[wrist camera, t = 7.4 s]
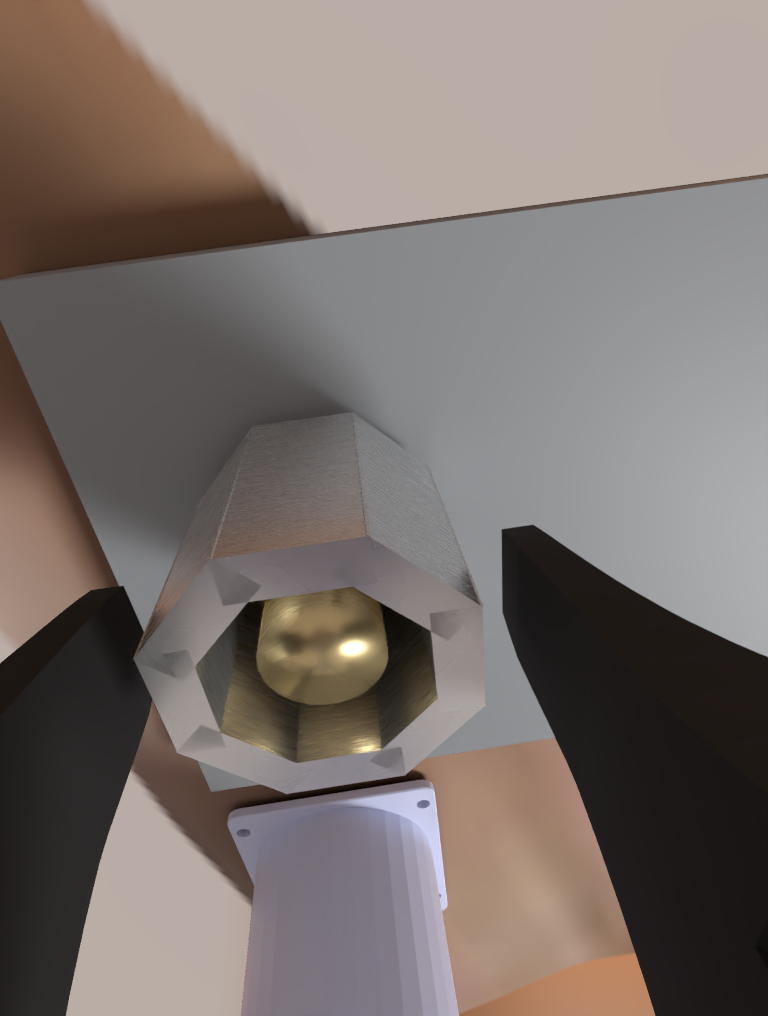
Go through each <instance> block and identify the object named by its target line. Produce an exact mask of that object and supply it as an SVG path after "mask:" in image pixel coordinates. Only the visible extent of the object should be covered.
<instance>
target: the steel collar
mask: <svg viewBox="0 0 768 1016" xmlns="http://www.w3.org/2000/svg"><path fill="white" fill-rule="evenodd" d="M347 587H354V588H356V589H358V590H359V591H361V592H363V593H365V594H366V595H368V596H370V597H372V598H373V599H375V600H377V601H379V602H380V603H382V610H383V618H384V625H385V632H386V639H387V646H388V662H387V665H386V668H385V670H384V672H383V674H382V676H381V677H380V679H379V680H378V681H377V682H376V683H375V684H374V685H373V686H372V687H371V688H370V689H369V690H367V691H366V692H364V693H363V694H361V695H359V696H357V697H355V698H352V699H350V700H347V701H344V702H340V703H335V704H327V705H313V704H305V703H300V702H296V701H293V700H290V699H288V698H285V697H283V696H281V695H280V694H278V693H277V692H275V691H274V690H273V689H271V688H270V687H269V686H268V685H267V684H266V683H265V681H264V680H263V678H262V677H261V675H260V673H259V671H258V667H257V663H256V654H257V647H258V640H259V634H260V627H261V620H262V614H263V607H264V601H265V600H266V599H273V598H280V597H287V596H293V595H300V594H307V593H313V592H320V591H327V590H334V589H340V588H347ZM133 660H134V661H135V663H136V665H137V667H138V669H139V671H140V673H141V676H142V678H143V680H144V682H145V684H146V686H147V688H148V691H149V693H150V695H151V697H152V699H153V701H154V703H155V706H156V708H157V710H158V712H159V714H160V716H161V718H162V721H163V723H164V725H165V727H166V729H167V731H168V733H169V736H170V738H171V740H172V742H173V744H174V746H175V748H176V751H177V752H176V753H178V754H181V755H184V756H187V757H189V758H192V759H195V760H197V761H200V762H203V763H205V764H208V765H211V766H213V767H216V768H219V769H222V770H224V771H227V772H230V773H232V774H235V775H238V776H240V777H243V778H246V779H248V780H251V781H254V782H256V783H259V784H262V785H264V786H267V787H270V788H272V789H275V790H278V791H280V792H283V793H285V794H290V793H296V792H303V791H309V790H315V789H322V788H328V787H334V786H341V785H347V784H353V783H360V782H366V781H372V780H379V779H385V778H391V777H398V776H405V775H406V774H407V773H408V772H409V771H410V770H412V769H413V768H414V767H415V766H416V765H417V764H419V763H420V762H421V761H422V760H423V759H424V758H425V757H427V756H428V755H429V754H430V753H431V752H432V751H433V750H435V749H436V748H437V747H438V746H439V745H440V744H442V743H443V742H444V741H445V740H446V739H447V738H448V737H450V736H451V735H452V734H453V733H454V732H455V731H457V730H458V729H459V728H460V727H461V726H462V725H463V724H465V723H466V722H467V721H468V720H469V719H470V718H472V717H473V716H474V715H475V714H476V713H477V712H478V711H480V710H481V709H482V708H483V707H484V706H486V701H485V672H484V639H483V604H482V602H481V599H480V597H479V594H478V592H477V589H476V586H475V584H474V581H473V579H472V576H471V574H470V571H469V568H468V566H467V563H466V561H465V558H464V556H463V553H462V550H461V548H460V545H459V543H458V540H457V537H456V535H455V532H454V530H453V527H452V525H451V522H450V519H449V517H448V514H447V512H446V509H445V507H444V504H443V501H442V499H441V496H440V494H439V491H438V489H437V486H436V483H435V481H434V478H433V476H432V473H431V471H430V468H429V466H428V465H426V464H425V463H424V462H422V461H421V460H419V459H418V458H417V457H415V456H414V455H412V454H411V453H410V452H408V451H407V450H405V449H404V448H403V447H401V446H400V445H398V444H397V443H396V442H394V441H393V440H391V439H390V438H389V437H387V436H386V435H384V434H383V433H382V432H380V431H379V430H377V429H376V428H375V427H373V426H372V425H370V424H369V423H368V422H366V421H365V420H363V419H362V418H361V417H359V416H358V415H356V414H355V413H354V412H352V411H351V412H348V413H341V414H334V415H326V416H319V417H312V418H305V419H298V420H291V421H284V422H277V423H270V424H262V425H255V426H254V425H253V426H251V428H250V430H249V431H248V433H247V434H246V435H245V437H244V438H243V440H242V441H241V443H240V444H239V445H238V447H237V448H236V450H235V451H234V452H233V454H232V455H231V457H230V458H229V459H228V461H227V462H226V464H225V465H224V466H223V468H222V469H221V471H220V472H219V474H218V475H217V476H216V478H215V479H214V481H213V482H212V483H211V485H210V486H209V488H208V489H207V490H206V492H205V493H204V495H203V496H202V497H201V498H200V500H199V502H198V505H197V507H196V510H195V512H194V514H193V517H192V519H191V522H190V524H189V526H188V529H187V531H186V533H185V536H184V538H183V541H182V543H181V545H180V548H179V550H178V553H177V555H176V557H175V560H174V562H173V564H172V567H171V569H170V572H169V574H168V576H167V579H166V581H165V584H164V586H163V588H162V591H161V593H160V595H159V598H158V600H157V603H156V605H155V607H154V610H153V612H152V615H151V617H150V619H149V622H148V624H147V627H146V629H145V631H144V634H143V636H142V638H141V641H140V643H139V646H138V648H137V650H136V653H135V655H134V659H133Z"/></svg>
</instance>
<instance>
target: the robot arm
mask: <svg viewBox="0 0 768 1016" xmlns="http://www.w3.org/2000/svg"><path fill="white" fill-rule="evenodd" d="M502 612H503V615H504V619H505V622H506V625H507V628H508V631H509V634H510V637H511V640H512V643H513V646H514V649H515V652H516V655H517V658H518V660H519V662H520V664H521V667H522V669H523V671H524V673H525V675H526V677H527V679H528V681H529V684H530V686H531V688H532V690H533V692H534V694H535V696H536V698H537V700H538V703H539V705H540V707H541V709H542V711H543V713H544V715H545V717H546V719H547V721H548V723H549V726H550V728H551V730H552V732H553V734H554V736H555V738H556V740H557V742H558V744H559V746H560V749H561V751H562V753H563V755H564V757H565V759H566V761H567V763H568V766H569V768H570V770H571V773H572V775H573V777H574V780H575V782H576V784H577V787H578V789H579V792H580V795H581V798H582V800H583V803H584V806H585V809H586V811H587V814H588V817H589V820H590V822H591V825H592V828H593V830H594V833H595V836H596V839H597V841H598V844H599V847H600V850H601V853H602V856H603V859H604V862H605V864H606V867H607V870H608V873H609V876H610V879H611V882H612V884H613V887H614V890H615V893H616V896H617V899H618V902H619V905H620V908H621V911H622V914H623V917H624V920H625V923H626V926H627V929H628V932H629V935H630V938H631V941H632V944H633V947H634V950H635V953H636V956H637V959H638V962H639V965H640V968H641V971H642V974H643V977H644V980H645V983H646V987H647V990H648V993H649V996H650V999H651V1002H652V1006H653V1009H654V1012H655V1015H656V1016H768V657H767V656H764V655H762V654H759V653H757V652H754V651H752V650H750V649H748V648H745V647H743V646H741V645H738V644H736V643H734V642H732V641H729V640H727V639H725V638H723V637H721V636H719V635H717V634H715V633H713V632H711V631H708V630H706V629H704V628H702V627H700V626H698V625H696V624H694V623H692V622H690V621H688V620H686V619H684V618H682V617H680V616H678V615H676V614H674V613H672V612H670V611H669V610H667V609H665V608H663V607H661V606H660V605H658V604H656V603H654V602H653V601H651V600H649V599H647V598H646V597H644V596H642V595H640V594H639V593H637V592H635V591H633V590H632V589H630V588H628V587H627V586H625V585H624V584H622V583H620V582H619V581H617V580H615V579H614V578H612V577H611V576H609V575H607V574H606V573H604V572H603V571H601V570H600V569H598V568H597V567H595V566H594V565H592V564H591V563H589V562H588V561H586V560H585V559H583V558H582V557H580V556H579V555H577V554H576V553H574V552H573V551H571V550H570V549H568V548H567V547H566V546H564V545H563V544H561V543H560V542H558V541H557V540H555V539H554V538H553V537H551V536H550V535H548V534H547V533H545V532H544V531H542V530H541V529H539V528H538V527H536V526H535V525H527V526H520V527H514V528H507V529H502ZM143 634H144V631H143V629H142V626H141V624H140V622H139V620H138V617H137V615H136V613H135V611H134V608H133V606H132V604H131V601H130V599H129V597H128V595H127V592H126V590H125V588H124V586H117V587H111V588H104V589H97V590H91V591H90V592H88V593H87V594H85V595H84V596H82V597H81V598H80V599H78V600H77V601H76V602H74V603H73V604H72V605H70V606H69V607H68V608H67V609H65V610H64V611H63V612H62V613H60V614H59V615H58V616H57V617H56V618H54V619H53V620H52V621H51V622H49V623H48V624H47V625H46V626H45V627H43V628H42V629H41V630H40V631H39V632H37V633H36V634H35V635H34V636H33V637H31V638H30V639H29V640H28V641H27V642H25V643H24V644H23V645H22V646H21V647H19V648H18V649H17V650H16V651H15V652H13V653H12V654H11V655H10V656H8V657H7V658H6V659H5V660H4V661H3V662H1V663H0V1016H66V1011H67V1006H68V1000H69V995H70V990H71V986H72V980H73V976H74V971H75V967H76V962H77V957H78V953H79V948H80V943H81V939H82V934H83V928H84V925H85V920H86V916H87V912H88V908H89V904H90V899H91V895H92V891H93V887H94V883H95V879H96V875H97V870H98V866H99V862H100V859H101V856H102V852H103V849H104V846H105V843H106V839H107V836H108V833H109V830H110V827H111V824H112V821H113V818H114V816H115V812H116V810H117V807H118V804H119V801H120V798H121V795H122V792H123V790H124V787H125V784H126V781H127V778H128V775H129V772H130V769H131V767H132V764H133V761H134V758H135V755H136V752H137V749H138V746H139V743H140V740H141V737H142V734H143V731H144V728H145V725H146V722H147V719H148V716H149V712H150V707H151V702H152V697H151V695H150V693H149V691H148V688H147V686H146V684H145V682H144V680H143V678H142V676H141V673H140V671H139V669H138V667H137V665H136V663H135V661H134V660H133V659H134V655H135V653H136V650H137V648H138V646H139V643H140V641H141V638H142V636H143ZM227 826H228V828H229V831H230V833H231V835H232V837H233V840H234V842H235V844H236V846H237V849H238V851H239V853H240V855H241V858H242V860H243V862H244V864H245V867H246V869H247V871H248V873H249V876H250V878H251V880H252V882H253V885H254V893H253V903H252V913H251V922H250V932H249V942H248V951H247V961H246V971H245V980H244V991H243V1000H242V1009H241V1016H459V1013H458V1007H457V1001H456V995H455V988H454V982H453V976H452V970H451V964H450V958H449V952H448V946H447V940H446V933H445V927H444V921H443V915H442V911H443V910H445V909H446V907H447V896H446V887H445V878H444V870H443V861H442V852H441V843H440V835H439V826H438V817H437V808H436V800H435V792H434V786H433V784H432V783H431V782H430V781H428V780H415V781H408V782H402V783H396V784H390V785H383V786H377V787H371V788H364V789H358V790H352V791H346V792H339V793H333V794H327V795H321V796H314V797H308V798H302V799H295V800H289V801H283V802H277V803H270V804H264V805H258V806H252V807H245V808H239V809H236V810H234V811H232V812H231V813H230V814H229V816H228V822H227Z"/></svg>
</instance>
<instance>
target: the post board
mask: <svg viewBox="0 0 768 1016" xmlns="http://www.w3.org/2000/svg"><path fill="white" fill-rule="evenodd" d="M0 321H1V323H2V325H3V327H4V330H5V332H6V334H7V336H8V339H9V341H10V343H11V345H12V348H13V350H14V352H15V354H16V357H17V359H18V361H19V363H20V365H21V368H22V370H23V372H24V374H25V377H26V379H27V381H28V383H29V386H30V388H31V390H32V392H33V395H34V397H35V399H36V401H37V404H38V406H39V408H40V410H41V412H42V415H43V417H44V419H45V421H46V424H47V426H48V428H49V430H50V433H51V435H52V437H53V439H54V442H55V444H56V446H57V448H58V450H59V453H60V455H61V457H62V459H63V462H64V464H65V466H66V468H67V471H68V473H69V475H70V477H71V480H72V482H73V484H74V486H75V488H76V491H77V493H78V495H79V497H80V500H81V502H82V504H83V506H84V509H85V511H86V513H87V515H88V518H89V520H90V522H91V524H92V526H93V529H94V531H95V533H96V535H97V538H98V540H99V542H100V544H101V547H102V549H103V551H104V553H105V556H106V558H107V560H108V562H109V564H110V567H111V569H112V571H113V573H114V576H115V578H116V580H117V582H118V585H119V586H124V588H125V590H126V592H127V595H128V597H129V599H130V601H131V604H132V606H133V608H134V611H135V613H136V615H137V617H138V620H139V622H140V624H141V626H142V629H143V631H145V629H146V627H147V624H148V622H149V619H150V617H151V615H152V612H153V610H154V607H155V605H156V603H157V600H158V598H159V595H160V593H161V591H162V588H163V586H164V584H165V581H166V579H167V576H168V574H169V572H170V569H171V567H172V564H173V562H174V560H175V557H176V555H177V553H178V550H179V548H180V545H181V543H182V541H183V538H184V536H185V533H186V531H187V529H188V526H189V524H190V522H191V519H192V517H193V514H194V512H195V510H196V507H197V505H198V502H199V500H200V498H201V497H202V496H203V495H204V493H205V492H206V490H207V489H208V488H209V486H210V485H211V483H212V482H213V481H214V479H215V478H216V476H217V475H218V474H219V472H220V471H221V469H222V468H223V466H224V465H225V464H226V462H227V461H228V459H229V458H230V457H231V455H232V454H233V452H234V451H235V450H236V448H237V447H238V445H239V444H240V443H241V441H242V440H243V438H244V437H245V435H246V434H247V433H248V431H249V430H250V428H251V426H253V425H254V426H255V425H262V424H270V423H277V422H284V421H291V420H298V419H305V418H312V417H319V416H326V415H334V414H341V413H348V412H351V411H352V412H354V413H355V414H356V415H358V416H359V417H361V418H362V419H363V420H365V421H366V422H368V423H369V424H370V425H372V426H373V427H375V428H376V429H377V430H379V431H380V432H382V433H383V434H384V435H386V436H387V437H389V438H390V439H391V440H393V441H394V442H396V443H397V444H398V445H400V446H401V447H403V448H404V449H405V450H407V451H408V452H410V453H411V454H412V455H414V456H415V457H417V458H418V459H419V460H421V461H422V462H424V463H425V464H426V465H428V466H429V468H430V471H431V473H432V476H433V478H434V481H435V483H436V486H437V489H438V491H439V494H440V496H441V499H442V501H443V504H444V507H445V509H446V512H447V514H448V517H449V519H450V522H451V525H452V527H453V530H454V532H455V535H456V537H457V540H458V543H459V545H460V548H461V550H462V553H463V556H464V558H465V561H466V563H467V566H468V568H469V571H470V574H471V576H472V579H473V581H474V584H475V586H476V589H477V592H478V594H479V597H480V599H481V602H482V604H483V639H484V672H485V701H486V706H484V707H483V708H482V709H481V710H480V711H478V712H477V713H476V714H475V715H474V716H473V717H472V718H470V719H469V720H468V721H467V722H466V723H465V724H463V725H462V726H461V727H460V728H459V729H458V730H457V731H455V732H454V733H453V734H452V735H451V736H450V737H448V738H447V739H446V740H445V741H444V742H443V743H442V744H440V745H439V746H438V747H437V748H436V749H435V750H433V751H432V752H431V753H430V754H429V755H428V756H427V757H425V758H430V757H436V756H442V755H449V754H455V753H461V752H468V751H474V750H480V749H487V748H493V747H499V746H505V745H512V744H518V743H524V742H531V741H537V740H543V739H550V738H555V736H554V734H553V732H552V730H551V728H550V726H549V723H548V721H547V719H546V717H545V715H544V713H543V711H542V709H541V707H540V705H539V703H538V700H537V698H536V696H535V694H534V692H533V690H532V688H531V686H530V684H529V681H528V679H527V677H526V675H525V673H524V671H523V669H522V667H521V664H520V662H519V660H518V658H517V655H516V652H515V649H514V646H513V643H512V640H511V637H510V634H509V631H508V628H507V625H506V622H505V619H504V615H503V612H502V529H507V528H514V527H520V526H527V525H535V526H536V527H538V528H539V529H541V530H542V531H544V532H545V533H547V534H548V535H550V536H551V537H553V538H554V539H555V540H557V541H558V542H560V543H561V544H563V545H564V546H566V547H567V548H568V549H570V550H571V551H573V552H574V553H576V554H577V555H579V556H580V557H582V558H583V559H585V560H586V561H588V562H589V563H591V564H592V565H594V566H595V567H597V568H598V569H600V570H601V571H603V572H604V573H606V574H607V575H609V576H611V577H612V578H614V579H615V580H617V581H619V582H620V583H622V584H624V585H625V586H627V587H628V588H630V589H632V590H633V591H635V592H637V593H639V594H640V595H642V596H644V597H646V598H647V599H649V600H651V601H653V602H654V603H656V604H658V605H660V606H661V607H663V608H665V609H667V610H669V611H670V612H672V613H674V614H676V615H678V616H680V617H682V618H684V619H686V620H688V621H690V622H692V623H694V624H696V625H698V626H700V627H702V628H704V629H706V630H708V631H711V632H713V633H715V634H717V635H719V636H721V637H723V638H725V639H727V640H729V641H732V642H734V643H736V644H738V645H741V646H743V647H745V648H748V649H750V650H752V651H754V652H757V653H759V654H762V655H764V656H767V657H768V174H763V175H756V176H749V177H741V178H734V179H727V180H719V181H711V182H704V183H696V184H689V185H681V186H675V187H667V188H659V189H653V190H645V191H637V192H629V193H623V194H615V195H608V196H600V197H592V198H585V199H578V200H571V201H563V202H556V203H548V204H541V205H533V206H526V207H519V208H512V209H504V210H496V211H489V212H482V213H474V214H466V215H459V216H452V217H444V218H437V219H429V220H422V221H414V222H407V223H399V224H392V225H385V226H377V227H370V228H362V229H355V230H347V231H340V232H333V233H325V234H318V235H310V236H303V237H295V238H288V239H281V240H273V241H266V242H258V243H251V244H243V245H236V246H229V247H221V248H214V249H206V250H199V251H191V252H184V253H177V254H169V255H162V256H154V257H147V258H140V259H132V260H125V261H117V262H110V263H102V264H95V265H88V266H80V267H73V268H65V269H58V270H50V271H43V272H36V273H28V274H21V275H17V276H13V277H9V278H5V279H1V280H0ZM387 662H388V646H387V639H386V632H385V625H384V618H383V610H382V603H380V602H379V601H377V600H375V599H373V598H372V597H370V596H368V595H366V594H365V593H363V592H361V591H359V590H358V589H356V588H354V587H347V588H340V589H334V590H327V591H320V592H313V593H307V594H300V595H293V596H287V597H280V598H273V599H266V600H265V601H264V607H263V614H262V620H261V627H260V634H259V640H258V647H257V654H256V663H257V667H258V671H259V673H260V675H261V677H262V678H263V680H264V681H265V683H266V684H267V685H268V686H269V687H270V688H271V689H273V690H274V691H275V692H277V693H278V694H280V695H281V696H283V697H285V698H288V699H290V700H293V701H296V702H300V703H305V704H313V705H327V704H335V703H340V702H344V701H347V700H350V699H352V698H355V697H357V696H359V695H361V694H363V693H364V692H366V691H367V690H369V689H370V688H371V687H372V686H373V685H374V684H375V683H376V682H377V681H378V680H379V679H380V677H381V676H382V674H383V672H384V670H385V668H386V665H387ZM198 763H199V766H200V768H201V770H202V772H203V775H204V777H205V779H206V781H207V784H208V786H209V788H210V790H211V792H215V791H221V790H228V789H234V788H240V787H247V786H253V785H259V783H256V782H254V781H251V780H248V779H246V778H243V777H240V776H238V775H235V774H232V773H230V772H227V771H224V770H222V769H219V768H216V767H213V766H211V765H208V764H205V763H203V762H200V761H198Z"/></svg>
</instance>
